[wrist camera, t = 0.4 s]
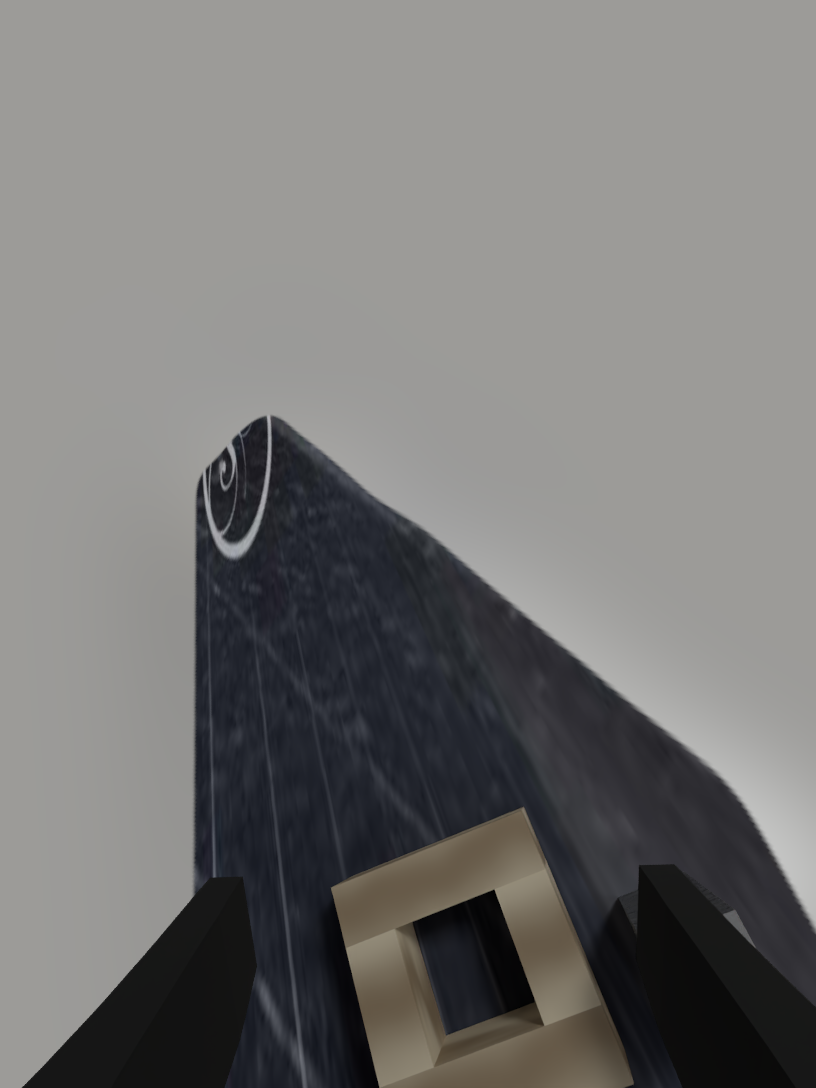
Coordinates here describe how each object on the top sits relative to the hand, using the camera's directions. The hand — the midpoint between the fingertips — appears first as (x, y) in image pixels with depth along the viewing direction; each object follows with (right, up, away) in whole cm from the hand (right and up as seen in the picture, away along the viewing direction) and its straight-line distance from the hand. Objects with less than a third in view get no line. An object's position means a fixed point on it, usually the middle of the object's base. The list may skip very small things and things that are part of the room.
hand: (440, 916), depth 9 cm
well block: (+3, -17, +21) cm, 27 cm away
